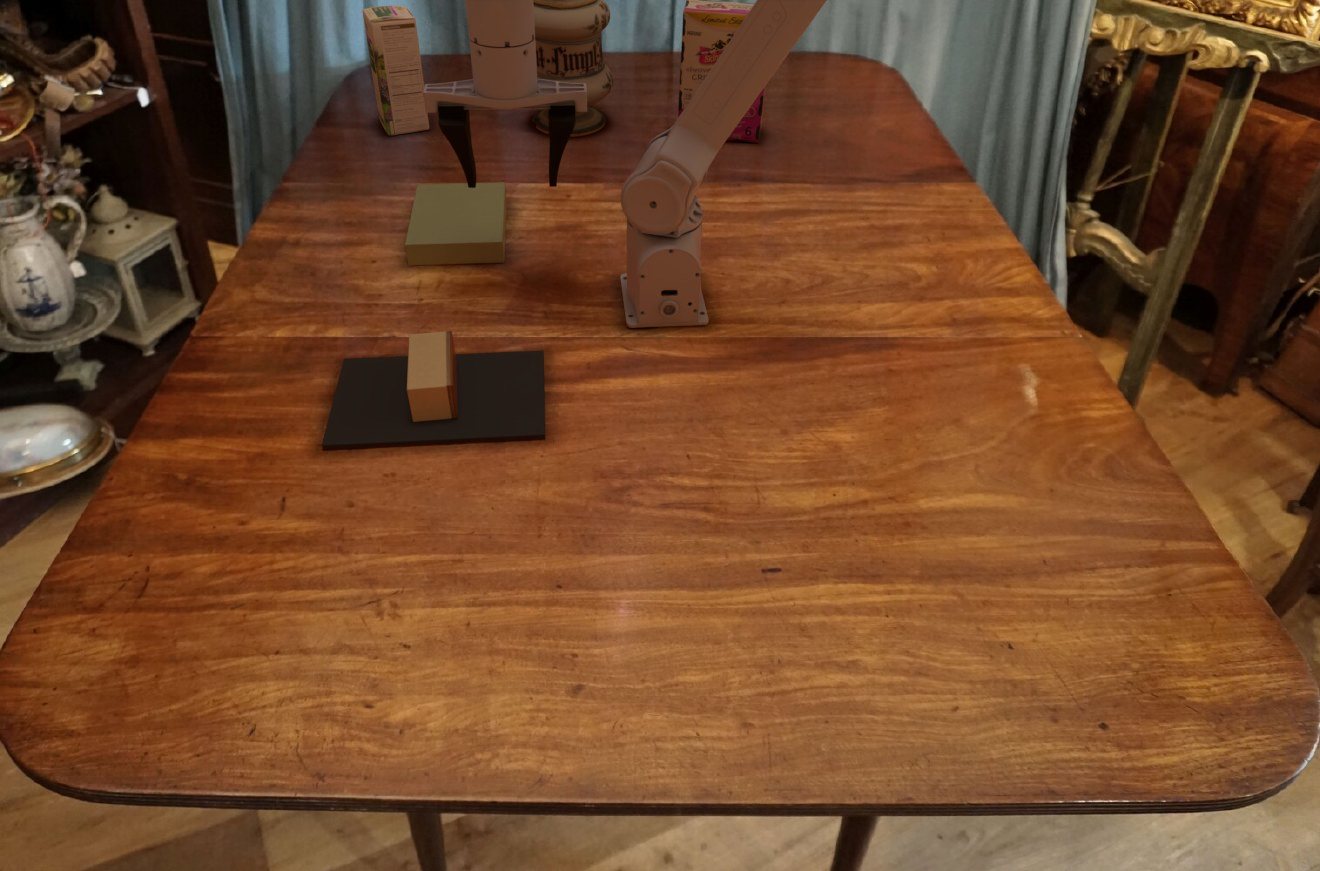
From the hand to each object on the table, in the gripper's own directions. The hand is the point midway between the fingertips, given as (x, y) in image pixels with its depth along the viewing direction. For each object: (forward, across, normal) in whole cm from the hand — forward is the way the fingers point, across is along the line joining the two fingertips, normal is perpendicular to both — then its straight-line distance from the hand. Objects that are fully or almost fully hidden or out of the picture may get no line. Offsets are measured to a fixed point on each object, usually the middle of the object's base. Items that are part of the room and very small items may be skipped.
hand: (512, 182), depth 90 cm
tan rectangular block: (+10, +7, +20) cm, 23 cm away
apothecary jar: (+11, -6, -40) cm, 42 cm away
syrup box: (+11, +16, -40) cm, 44 cm away
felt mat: (+10, +7, +20) cm, 24 cm away
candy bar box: (+10, -26, -35) cm, 45 cm away
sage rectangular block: (+10, +7, -10) cm, 16 cm away
